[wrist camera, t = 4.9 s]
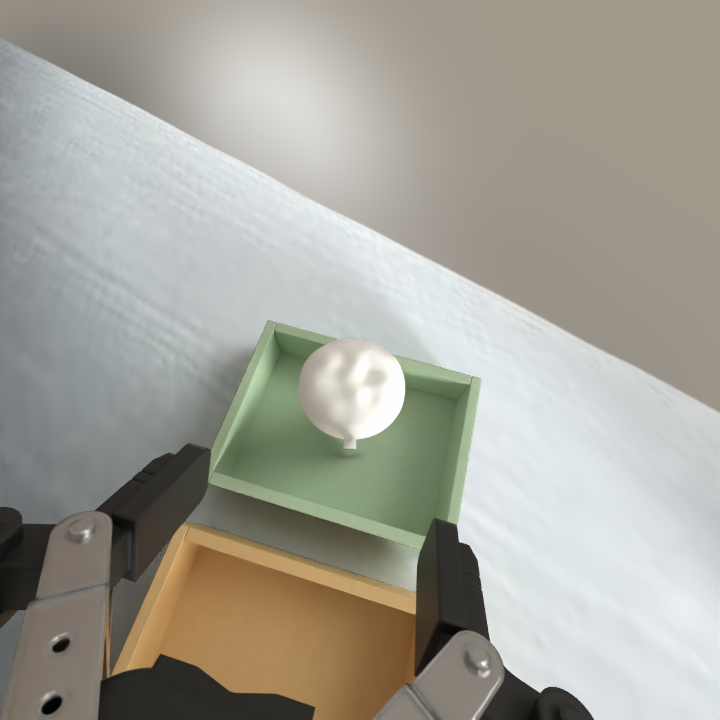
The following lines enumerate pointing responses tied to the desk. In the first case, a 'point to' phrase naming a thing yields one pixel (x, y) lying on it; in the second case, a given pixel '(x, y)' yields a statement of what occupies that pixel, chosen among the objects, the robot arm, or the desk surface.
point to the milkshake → (351, 393)
